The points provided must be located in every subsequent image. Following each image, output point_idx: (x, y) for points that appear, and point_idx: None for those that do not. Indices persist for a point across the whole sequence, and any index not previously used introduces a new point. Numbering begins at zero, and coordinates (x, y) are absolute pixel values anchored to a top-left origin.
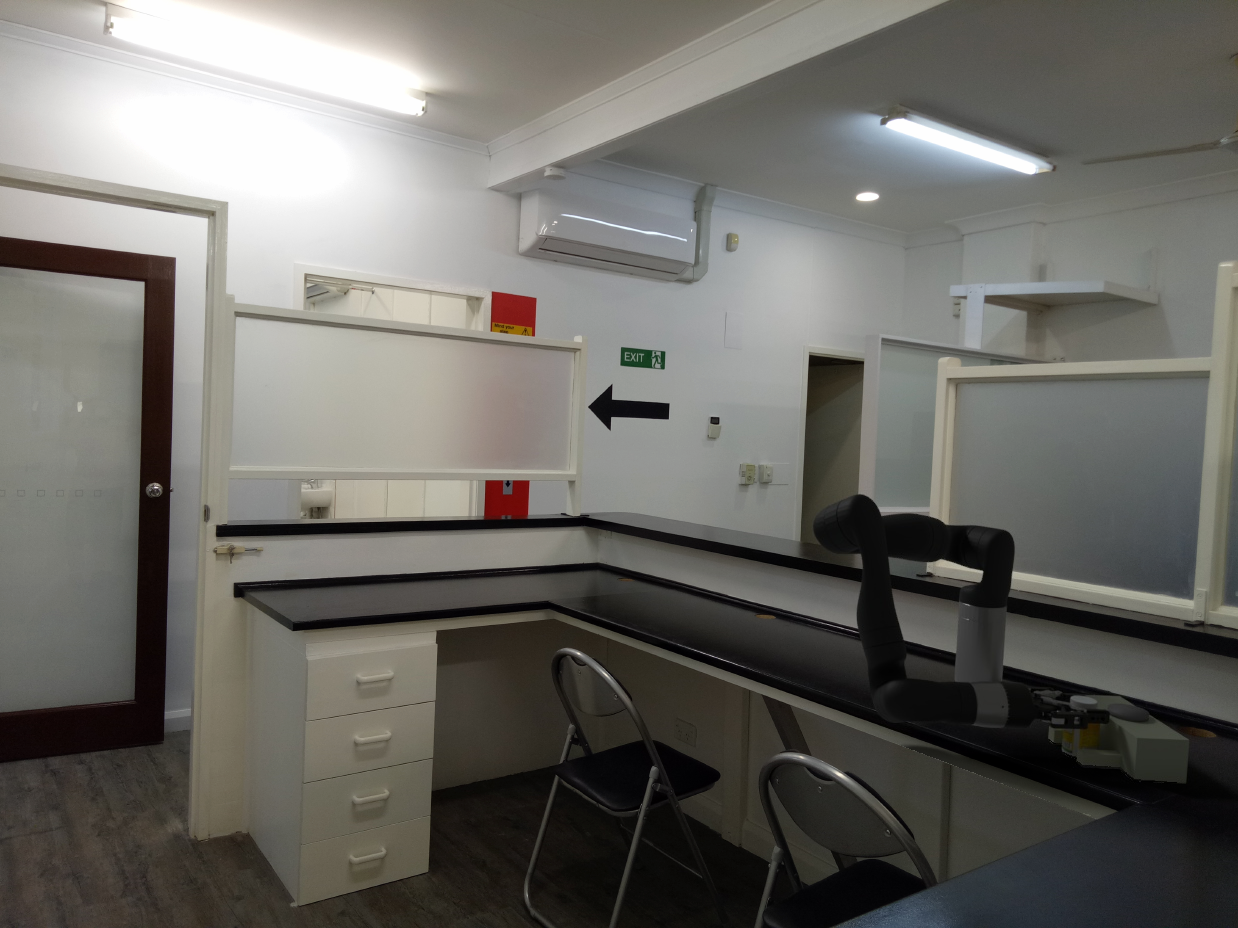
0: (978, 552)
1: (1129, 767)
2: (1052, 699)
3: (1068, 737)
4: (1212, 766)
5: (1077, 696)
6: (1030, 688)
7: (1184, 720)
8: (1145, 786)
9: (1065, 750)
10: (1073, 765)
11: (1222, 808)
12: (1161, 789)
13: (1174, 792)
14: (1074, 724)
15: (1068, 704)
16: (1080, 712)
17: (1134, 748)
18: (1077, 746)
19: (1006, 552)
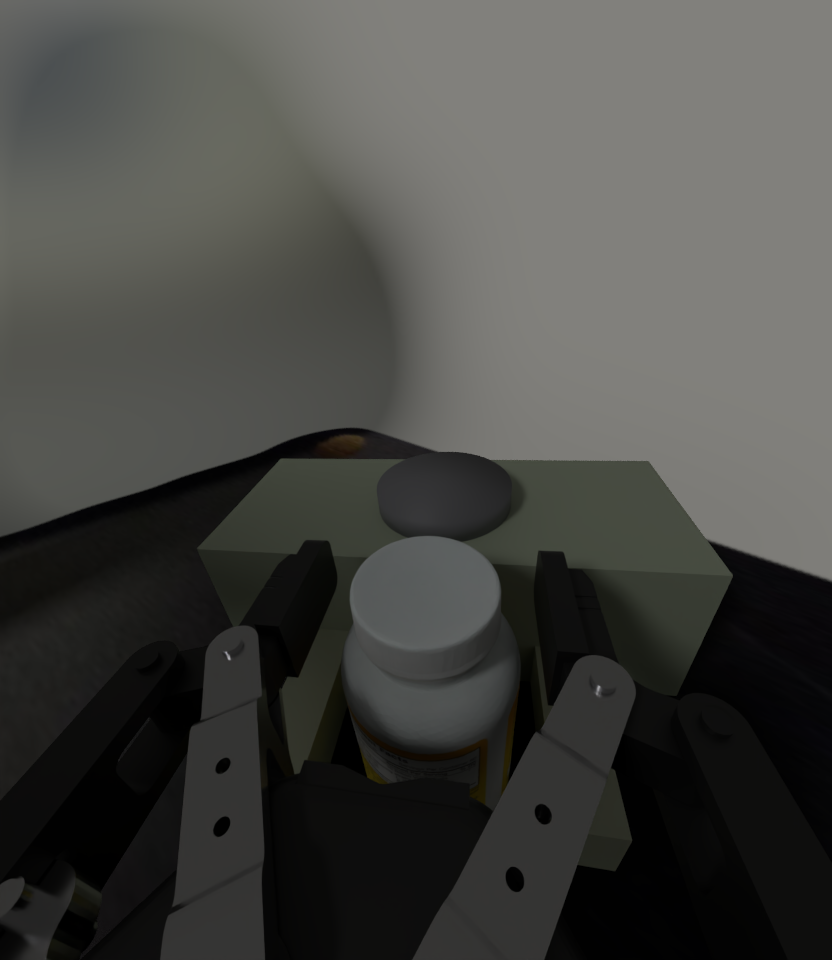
0: None
1: (645, 670)
2: (458, 903)
3: None
4: None
5: (368, 590)
6: (7, 872)
7: (293, 441)
8: (712, 683)
9: None
10: (581, 904)
11: (775, 569)
12: (712, 645)
13: (717, 622)
14: (712, 863)
15: (586, 777)
16: (711, 752)
17: (696, 614)
18: (499, 791)
19: None
